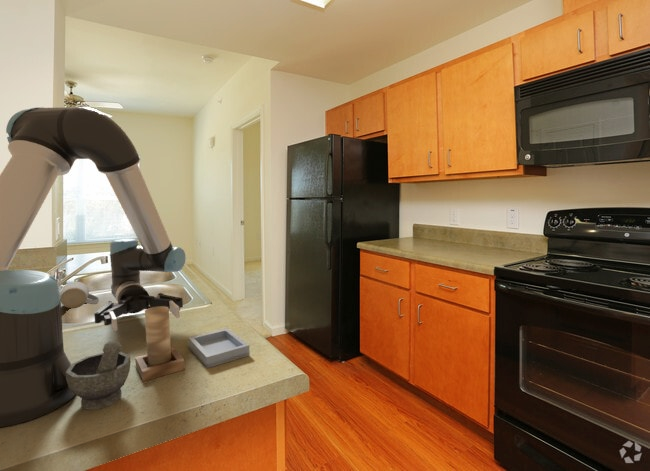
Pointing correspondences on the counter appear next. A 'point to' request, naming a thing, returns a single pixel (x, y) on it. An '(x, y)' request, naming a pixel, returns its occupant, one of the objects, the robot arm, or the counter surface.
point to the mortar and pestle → (99, 376)
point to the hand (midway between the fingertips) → (148, 318)
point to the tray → (218, 347)
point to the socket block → (159, 366)
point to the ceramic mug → (77, 295)
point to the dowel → (158, 335)
